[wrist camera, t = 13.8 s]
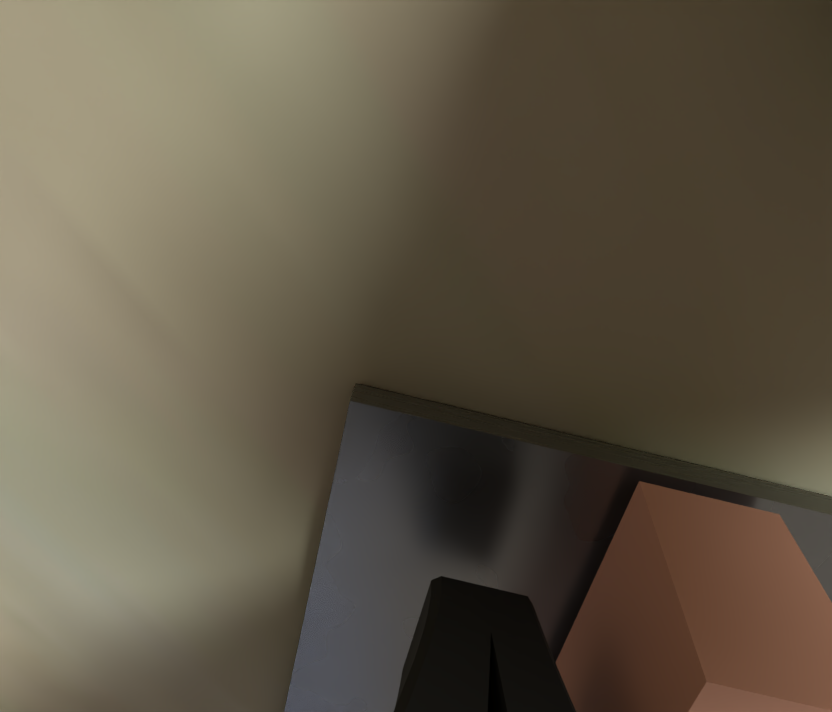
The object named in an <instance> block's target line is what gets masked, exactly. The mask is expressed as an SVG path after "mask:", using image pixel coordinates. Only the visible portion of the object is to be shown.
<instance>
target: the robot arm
mask: <svg viewBox="0 0 832 712" xmlns="http://www.w3.org/2000/svg"><path fill="white" fill-rule="evenodd" d="M394 712H576V710H575V708H574V705H573V703H572V701H571V699H570V696H569V694H568V692H567V689H566V687H565V684H564V682H563V680H562V677H561V675H560V672H559V670H558V668H557V665H556V663H555V660H554V658H553V655H552V653H551V650H550V648H549V645H548V643H547V640H546V638H545V635H544V633H543V630H542V627H541V625H540V622H539V620H538V617H537V614H536V612H535V609H534V606H533V604H532V602H531V601H530V599H529V597H528V596H525V595H521V594H516V593H512V592H508V591H504V590H499V589H495V588H491V587H486V586H482V585H478V584H474V583H469V582H465V581H461V580H457V579H452V578H448V577H444V576H440V577H438V578H435V579H433V580H431V583H430V586H429V589H428V592H427V595H426V598H425V601H424V604H423V607H422V611H421V614H420V617H419V620H418V623H417V626H416V629H415V632H414V635H413V638H412V642H411V645H410V648H409V651H408V654H407V657H406V660H405V663H404V666H403V670H402V676H401V682H400V687H399V692H398V697H397V701H396V705H395V709H394Z"/></svg>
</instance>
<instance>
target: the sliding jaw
mask: <svg viewBox="0 0 832 712" xmlns="http://www.w3.org/2000/svg"><path fill="white" fill-rule="evenodd" d="M556 665H557V668H558V670H559V672H560V675H561V677H562V680H563V682H564V684H565V687H566V689H567V692H568V694H569V696H570V699H571V701H572V703H573V705H574V708H575V710H576V712H832V602H831V600H830V599H829V597H828V595H827V594H826V592H825V590H824V589H823V587H822V585H821V584H820V582H819V580H818V578H817V577H816V575H815V573H814V572H813V570H812V568H811V567H810V565H809V563H808V562H807V560H806V558H805V557H804V555H803V553H802V551H801V550H800V548H799V546H798V545H797V543H796V541H795V540H794V538H793V536H792V535H791V533H790V531H789V529H788V528H787V526H786V524H785V523H784V521H783V519H782V518H781V516H780V514H776V513H772V512H768V511H763V510H759V509H755V508H751V507H747V506H742V505H738V504H734V503H730V502H725V501H721V500H717V499H713V498H709V497H704V496H700V495H696V494H692V493H687V492H683V491H679V490H675V489H671V488H666V487H662V486H658V485H654V484H649V483H645V482H641V481H639V482H638V485H637V487H636V489H635V491H634V493H633V495H632V498H631V500H630V502H629V504H628V506H627V508H626V511H625V513H624V515H623V517H622V519H621V521H620V524H619V526H618V528H617V530H616V532H615V534H614V537H613V539H612V541H611V543H610V545H609V547H608V550H607V552H606V554H605V556H604V558H603V561H602V563H601V565H600V567H599V569H598V571H597V574H596V576H595V578H594V580H593V582H592V584H591V587H590V589H589V591H588V593H587V595H586V597H585V600H584V602H583V604H582V606H581V608H580V610H579V613H578V615H577V617H576V619H575V621H574V623H573V626H572V628H571V630H570V632H569V634H568V636H567V639H566V641H565V643H564V645H563V647H562V650H561V652H560V654H559V656H558V658H557V660H556Z"/></svg>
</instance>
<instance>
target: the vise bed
mask: <svg viewBox="0 0 832 712" xmlns="http://www.w3.org/2000/svg"><path fill="white" fill-rule="evenodd" d="M639 481H641V482H645V483H649V484H654V485H658V486H662V487H666V488H671V489H675V490H679V491H683V492H687V493H692V494H696V495H700V496H704V497H709V498H713V499H717V500H721V501H725V502H730V503H734V504H738V505H742V506H747V507H751V508H755V509H759V510H763V511H768V512H772V513H776V514H780V516H781V518H782V519H783V521H784V523H785V524H786V526H787V528H788V529H789V531H790V533H791V535H792V536H793V538H794V540H795V541H796V543H797V545H798V546H799V548H800V550H801V551H802V553H803V555H804V557H805V558H806V560H807V562H808V563H809V565H810V567H811V568H812V570H813V572H814V573H815V575H816V577H817V578H818V580H819V582H820V584H821V585H822V587H823V589H824V590H825V592H826V594H827V595H828V597H829V599H830V600H831V602H832V497H831V496H826V495H822V494H818V493H814V492H810V491H805V490H801V489H797V488H793V487H789V486H784V485H780V484H776V483H772V482H768V481H763V480H759V479H755V478H751V477H747V476H742V475H738V474H734V473H730V472H726V471H721V470H717V469H713V468H709V467H705V466H700V465H696V464H692V463H688V462H684V461H679V460H675V459H671V458H667V457H663V456H658V455H654V454H650V453H646V452H642V451H637V450H633V449H629V448H625V447H621V446H616V445H612V444H608V443H604V442H600V441H595V440H591V439H587V438H583V437H579V436H574V435H570V434H566V433H562V432H558V431H553V430H549V429H545V428H541V427H537V426H532V425H528V424H524V423H520V422H516V421H511V420H507V419H503V418H499V417H494V416H490V415H486V414H482V413H478V412H473V411H469V410H465V409H461V408H457V407H452V406H448V405H444V404H440V403H436V402H431V401H427V400H423V399H419V398H415V397H410V396H406V395H402V394H398V393H394V392H389V391H385V390H381V389H377V388H373V387H368V386H364V385H360V384H355V387H354V390H353V393H352V396H351V399H350V403H349V408H348V413H347V418H346V422H345V427H344V432H343V436H342V441H341V446H340V451H339V455H338V460H337V465H336V469H335V474H334V479H333V484H332V488H331V493H330V498H329V502H328V507H327V512H326V517H325V521H324V526H323V531H322V536H321V540H320V545H319V550H318V554H317V559H316V564H315V569H314V573H313V578H312V583H311V587H310V592H309V597H308V602H307V606H306V611H305V616H304V621H303V625H302V630H301V635H300V639H299V644H298V649H297V654H296V658H295V663H294V668H293V672H292V677H291V682H290V687H289V691H288V696H287V701H286V706H285V710H284V712H394V709H395V705H396V701H397V697H398V692H399V687H400V682H401V676H402V670H403V666H404V663H405V660H406V657H407V654H408V651H409V648H410V645H411V642H412V638H413V635H414V632H415V629H416V626H417V623H418V620H419V617H420V614H421V611H422V607H423V604H424V601H425V598H426V595H427V592H428V589H429V586H430V583H431V580H433V579H435V578H438V577H440V576H444V577H448V578H452V579H457V580H461V581H465V582H469V583H474V584H478V585H482V586H486V587H491V588H495V589H499V590H504V591H508V592H512V593H516V594H521V595H525V596H528V597H529V599H530V601H531V602H532V604H533V606H534V609H535V612H536V614H537V617H538V620H539V622H540V625H541V627H542V630H543V633H544V635H545V638H546V640H547V643H548V645H549V648H550V650H551V653H552V655H553V658H554V660H555V663H556V660H557V658H558V656H559V654H560V652H561V650H562V647H563V645H564V643H565V641H566V639H567V636H568V634H569V632H570V630H571V628H572V626H573V623H574V621H575V619H576V617H577V615H578V613H579V610H580V608H581V606H582V604H583V602H584V600H585V597H586V595H587V593H588V591H589V589H590V587H591V584H592V582H593V580H594V578H595V576H596V574H597V571H598V569H599V567H600V565H601V563H602V561H603V558H604V556H605V554H606V552H607V550H608V547H609V545H610V543H611V541H612V539H613V537H614V534H615V532H616V530H617V528H618V526H619V524H620V521H621V519H622V517H623V515H624V513H625V511H626V508H627V506H628V504H629V502H630V500H631V498H632V495H633V493H634V491H635V489H636V487H637V485H638V482H639Z"/></svg>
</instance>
